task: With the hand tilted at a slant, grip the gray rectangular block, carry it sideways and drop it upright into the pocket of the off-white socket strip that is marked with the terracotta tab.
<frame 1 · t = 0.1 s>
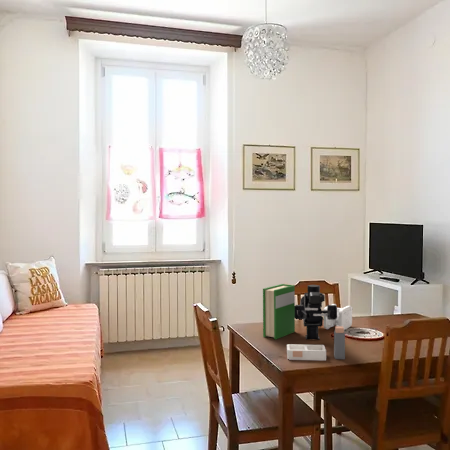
hand: (317, 316, 204), 17 cm above the table, tool horizontal, fingers open, 9 cm apart
socket strip: (306, 356, 202), on the table
hardback book: (279, 334, 238), on the table
gray rectangular block: (339, 357, 200), on the table
cable organizer: (338, 328, 248), on the table
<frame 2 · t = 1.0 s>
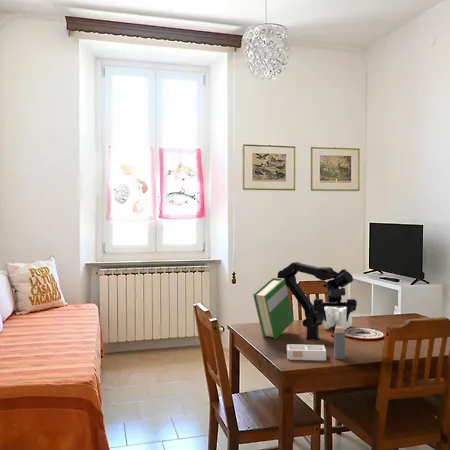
hand: (336, 321, 208), 14 cm above the table, tool tilted 45°, fingers open, 9 cm apart
hardback book: (278, 329, 237), point 3 cm above the table
everything else where it was.
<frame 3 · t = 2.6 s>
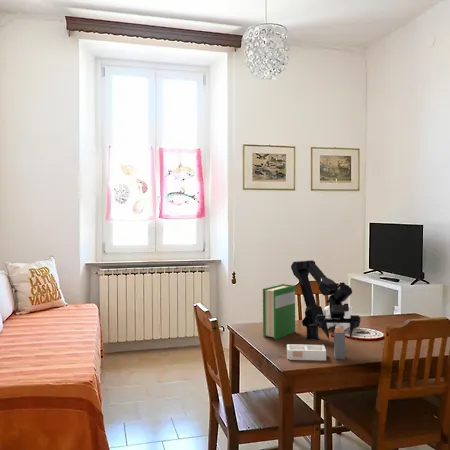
hand: (339, 338, 200), 8 cm above the table, tool tilted 45°, fingers open, 9 cm apart
hardback book: (279, 334, 238), on the table
everything else where it was.
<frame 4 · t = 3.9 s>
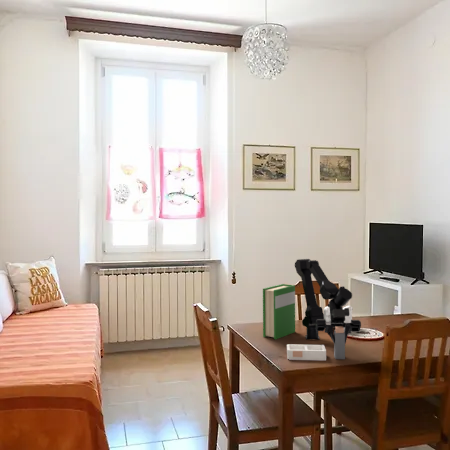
hand: (339, 343, 199), 7 cm above the table, tool tilted 45°, fingers closed on gray rectangular block, 4 cm apart
gray rectangular block: (339, 357, 200), on the table, touching gripper
everything else where it was.
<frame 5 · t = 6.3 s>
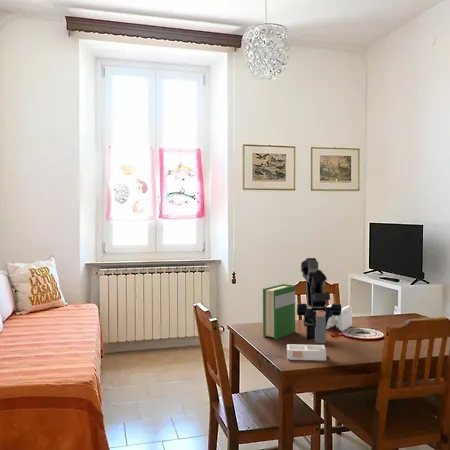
hand: (320, 326, 199), 13 cm above the table, tool tilted 45°, fingers closed on gray rectangular block, 4 cm apart
gray rectangular block: (320, 341, 201), point 7 cm above the table, touching gripper
everything else where it was.
when the fingers open (8 cm above the table, at t = 8.6 s): gray rectangular block stays where it is, resting on socket strip.
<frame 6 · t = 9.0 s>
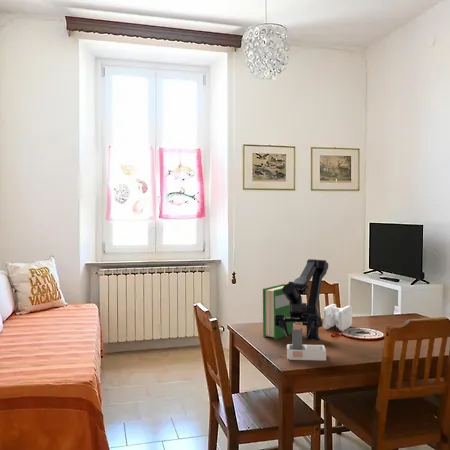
hand: (297, 337, 200), 9 cm above the table, tool tilted 45°, fingers open, 8 cm apart
gray rectangular block: (297, 354, 202), point 1 cm above the table, touching socket strip
everything else where it was.
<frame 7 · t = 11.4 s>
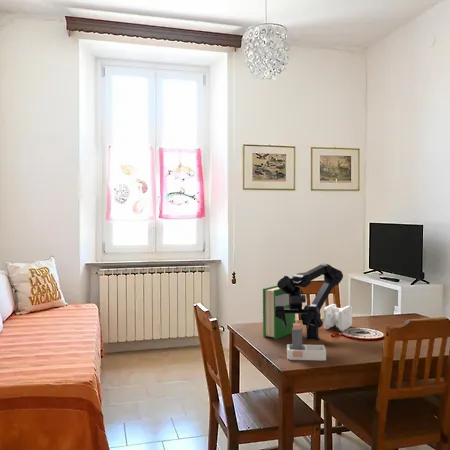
hand: (296, 328, 209), 10 cm above the table, tool tilted 45°, fingers open, 9 cm apart
nothing on the table moved.
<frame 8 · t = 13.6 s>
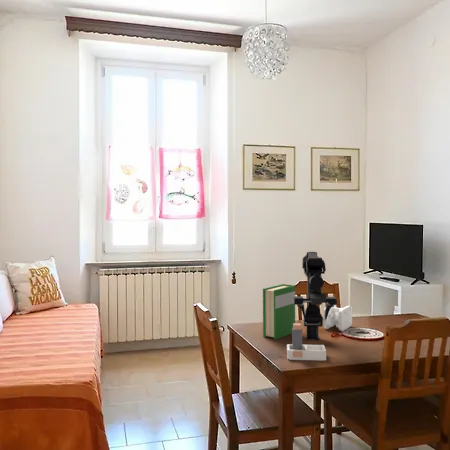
hand: (315, 319, 214), 13 cm above the table, tool pointing down, fingers open, 9 cm apart
nothing on the table moved.
at the end: gray rectangular block 0.0 cm from the target spot on the socket strip, point 1.0 cm above the socket strip's base; gray rectangular block tilted 0°; the gripper is holding nothing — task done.
